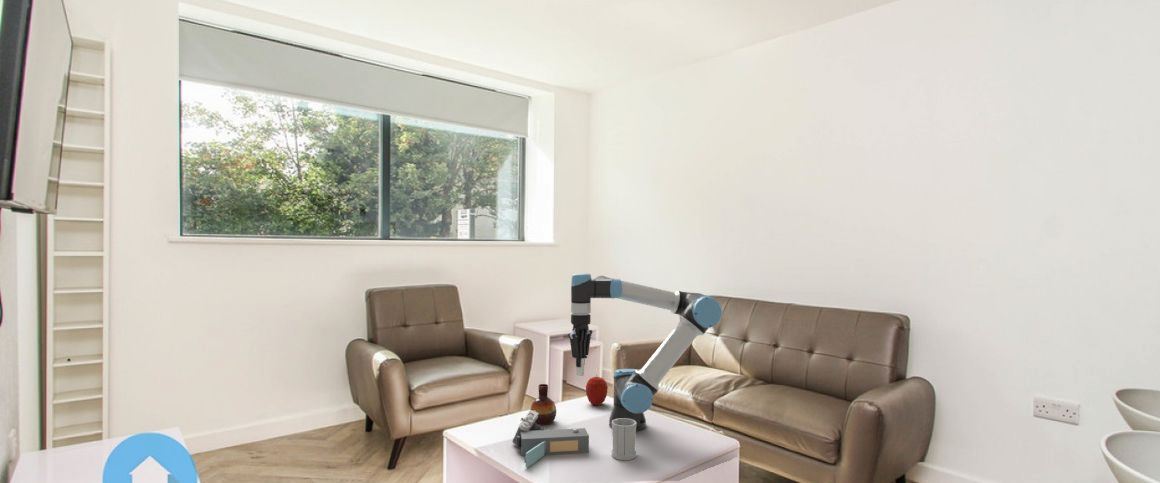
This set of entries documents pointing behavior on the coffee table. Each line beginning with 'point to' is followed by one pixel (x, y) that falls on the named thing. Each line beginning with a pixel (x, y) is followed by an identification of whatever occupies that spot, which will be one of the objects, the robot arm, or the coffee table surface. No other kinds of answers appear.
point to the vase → (544, 406)
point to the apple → (596, 390)
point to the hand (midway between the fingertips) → (580, 375)
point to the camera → (528, 424)
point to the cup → (623, 438)
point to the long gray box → (555, 441)
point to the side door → (535, 453)
